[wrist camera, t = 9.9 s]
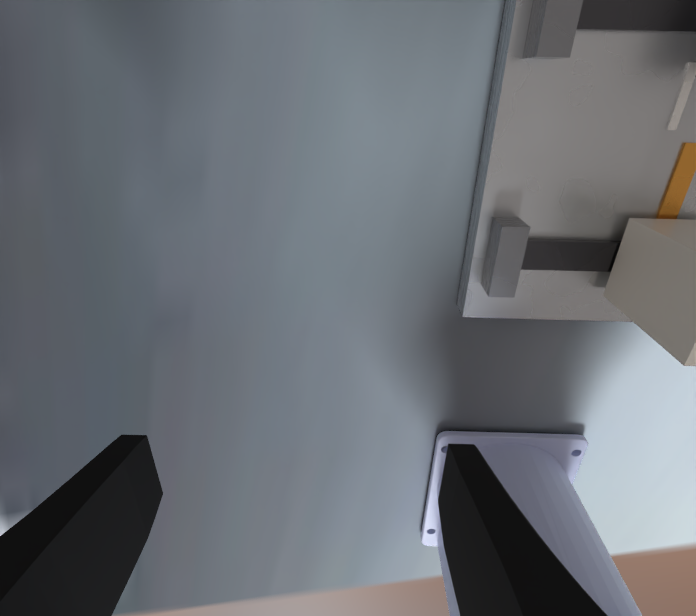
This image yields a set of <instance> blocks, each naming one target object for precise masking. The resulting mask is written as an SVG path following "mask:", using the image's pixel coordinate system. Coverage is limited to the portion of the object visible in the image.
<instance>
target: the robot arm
mask: <svg viewBox="0 0 696 616" xmlns="http://www.w3.org/2000/svg"><path fill="white" fill-rule="evenodd" d="M444 446H447V447H444ZM587 447H588V442H587V440H586V438H585V437H584V436H582V435H577V434H540V433H503V432H465V431H443V432H441V433H439V434H438V436H437V439H436V445H435V451H434V457H433V463H432V469H431V476H430V482H429V488H428V494H427V500H426V506H425V513H424V519H423V525H422V531H421V542H422V543H423V544H424V545H426V546H438V551H439V557H440V562H441V568H442V574H443V579H444V584H445V591H446V596H447V602H448V608H449V613H450V616H642V614H641V612H640V610H639V608H638V607H637V605H636V603H635V601H634V599H633V597H632V595H631V594H630V592H629V590H628V588H627V586H626V584H625V582H624V581H623V579H622V577H621V575H620V573H619V571H618V569H617V567H616V566H615V564H614V562H613V560H612V558H611V556H610V554H609V553H608V551H607V549H606V547H605V545H604V543H603V541H602V540H601V538H600V536H599V534H598V532H597V530H596V528H595V526H594V525H593V523H592V521H591V519H590V517H589V515H588V513H587V512H586V510H585V508H584V506H583V504H582V502H581V500H580V498H579V497H578V495H577V493H576V491H575V489H574V487H573V482H574V480H575V477H576V475H577V472H578V470H579V467H580V465H581V462H582V459H583V457H584V454H585V452H586V449H587ZM162 495H163V492H162V488H161V484H160V481H159V477H158V474H157V470H156V467H155V463H154V459H153V456H152V452H151V449H150V445H149V441H148V438H147V435H121V436H119V437H118V438H117V439H116V440H115V441H113V442H112V443H111V444H110V445H109V446H108V447H106V448H105V449H104V450H103V451H102V452H101V453H99V454H98V455H97V456H96V457H95V458H94V459H93V460H91V461H90V462H89V463H88V464H87V465H86V466H84V467H83V468H82V469H81V470H80V471H79V472H78V473H76V474H75V475H74V476H73V477H72V478H71V479H69V480H68V481H67V482H66V483H65V484H64V485H62V486H61V487H60V488H59V489H58V490H56V491H55V492H54V493H53V494H52V495H51V496H49V497H48V498H47V499H46V500H45V501H43V502H42V503H41V504H40V505H39V506H38V507H36V508H35V509H34V510H33V511H32V512H30V513H29V514H28V515H27V516H25V517H24V518H23V519H22V520H20V521H19V522H18V523H16V524H15V525H14V526H13V527H11V528H10V529H9V530H8V531H6V532H5V533H4V534H3V535H1V536H0V616H111V615H112V613H113V611H114V609H115V607H116V605H117V603H118V601H119V599H120V596H121V594H122V592H123V590H124V588H125V586H126V584H127V582H128V580H129V578H130V575H131V573H132V571H133V569H134V567H135V565H136V563H137V560H138V558H139V556H140V554H141V552H142V550H143V548H144V545H145V543H146V541H147V539H148V536H149V533H150V531H151V528H152V525H153V522H154V519H155V516H156V513H157V510H158V507H159V504H160V501H161V498H162Z"/></svg>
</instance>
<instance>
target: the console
mask: <svg viewBox="0 0 696 616" xmlns="http://www.w3.org/2000/svg"><path fill="white" fill-rule="evenodd" d="M629 218H647V219H688V220H696V0H505V6H504V12H503V18H502V25H501V31H500V37H499V43H498V50H497V56H496V62H495V68H494V75H493V81H492V87H491V93H490V100H489V106H488V112H487V118H486V125H485V131H484V137H483V143H482V150H481V156H480V162H479V168H478V174H477V181H476V187H475V193H474V199H473V206H472V212H471V218H470V224H469V231H468V237H467V243H466V249H465V256H464V262H463V268H462V274H461V281H460V287H459V293H458V299H457V306H458V308H459V311H460V313H461V315H462V317H469V318H508V319H547V320H587V321H626V322H633V321H632V320H631V319H629V318H628V317H627V316H626V315H625V314H624V313H623V312H621V311H620V310H619V309H618V308H617V307H616V306H614V305H613V304H612V303H611V302H610V301H609V300H608V299H606V298H605V297H604V296H603V294H604V291H605V288H606V285H607V282H608V279H609V276H610V273H611V271H612V268H613V265H614V262H615V259H616V256H617V253H618V250H619V247H620V244H621V241H622V238H623V235H624V232H625V230H626V227H627V224H628V221H629Z"/></svg>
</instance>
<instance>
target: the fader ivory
mask: <svg viewBox="0 0 696 616" xmlns="http://www.w3.org/2000/svg"><path fill="white" fill-rule="evenodd" d="M603 296H604V297H605V298H606V299H608V300H609V301H610V302H611V303H612V304H613V305H614V306H616V307H617V308H618V309H619V310H620V311H621V312H623V313H624V314H625V315H626V316H627V317H628V318H629V319H631V320H632V321H633V322H634V323H635V324H636V325H638V326H639V327H640V328H641V329H642V330H643V331H644V332H646V333H647V334H648V335H649V336H650V337H651V338H653V339H654V340H655V341H656V342H657V343H658V344H659V345H661V346H662V347H663V348H664V349H665V350H666V351H668V352H669V353H670V354H671V355H672V356H673V357H675V358H676V359H677V360H678V361H679V362H680V363H681V364H683V365H684V366H696V220H688V219H647V218H629V221H628V224H627V227H626V230H625V232H624V235H623V238H622V241H621V244H620V247H619V250H618V253H617V256H616V259H615V262H614V265H613V268H612V271H611V273H610V276H609V279H608V282H607V285H606V288H605V291H604V294H603Z"/></svg>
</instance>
